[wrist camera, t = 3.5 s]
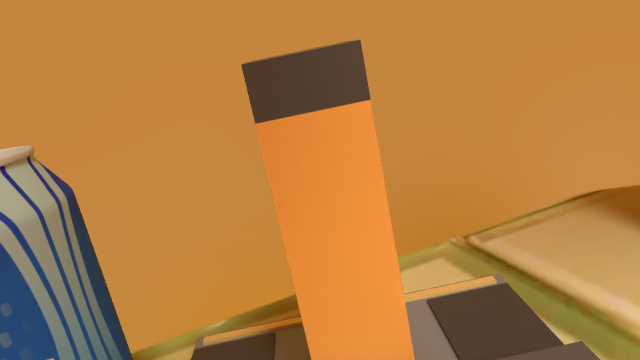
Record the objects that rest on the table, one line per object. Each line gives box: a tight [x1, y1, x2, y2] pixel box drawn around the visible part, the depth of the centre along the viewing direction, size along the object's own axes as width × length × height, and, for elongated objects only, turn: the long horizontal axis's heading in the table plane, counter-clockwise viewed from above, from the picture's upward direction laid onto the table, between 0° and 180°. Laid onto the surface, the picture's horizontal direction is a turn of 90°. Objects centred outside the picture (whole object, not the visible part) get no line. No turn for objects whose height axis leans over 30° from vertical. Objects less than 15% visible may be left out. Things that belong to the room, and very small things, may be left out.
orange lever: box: [242, 40, 415, 360], centre depth 20 cm, size 4×4×15 cm
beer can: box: [0, 146, 133, 360], centre depth 22 cm, size 8×8×16 cm
